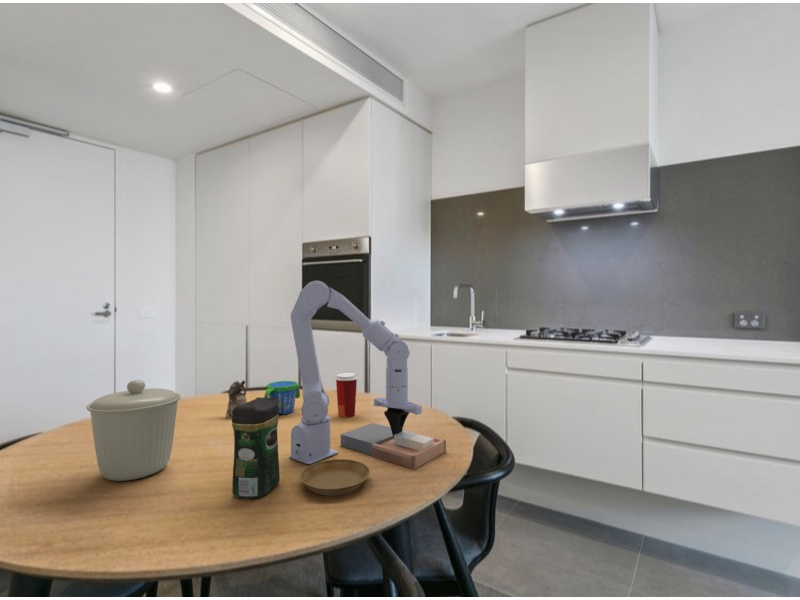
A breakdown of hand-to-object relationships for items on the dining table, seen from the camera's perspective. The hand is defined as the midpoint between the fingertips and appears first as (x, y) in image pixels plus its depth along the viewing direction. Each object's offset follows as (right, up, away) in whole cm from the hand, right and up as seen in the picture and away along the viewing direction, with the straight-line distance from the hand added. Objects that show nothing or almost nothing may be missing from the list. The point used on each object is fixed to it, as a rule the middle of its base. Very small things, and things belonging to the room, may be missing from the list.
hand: (397, 437), depth 105 cm
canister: (-60, -4, -12) cm, 62 cm away
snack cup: (-41, -4, +38) cm, 56 cm away
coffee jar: (-29, -4, -22) cm, 36 cm away
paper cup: (-18, -4, +33) cm, 38 cm away
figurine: (-56, -4, +34) cm, 65 cm away
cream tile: (+6, -1, -4) cm, 8 cm away
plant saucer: (-13, -4, -19) cm, 23 cm away
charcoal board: (-7, -4, +5) cm, 9 cm away
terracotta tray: (+3, -3, -3) cm, 5 cm away
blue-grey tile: (+2, -1, -2) cm, 3 cm away
